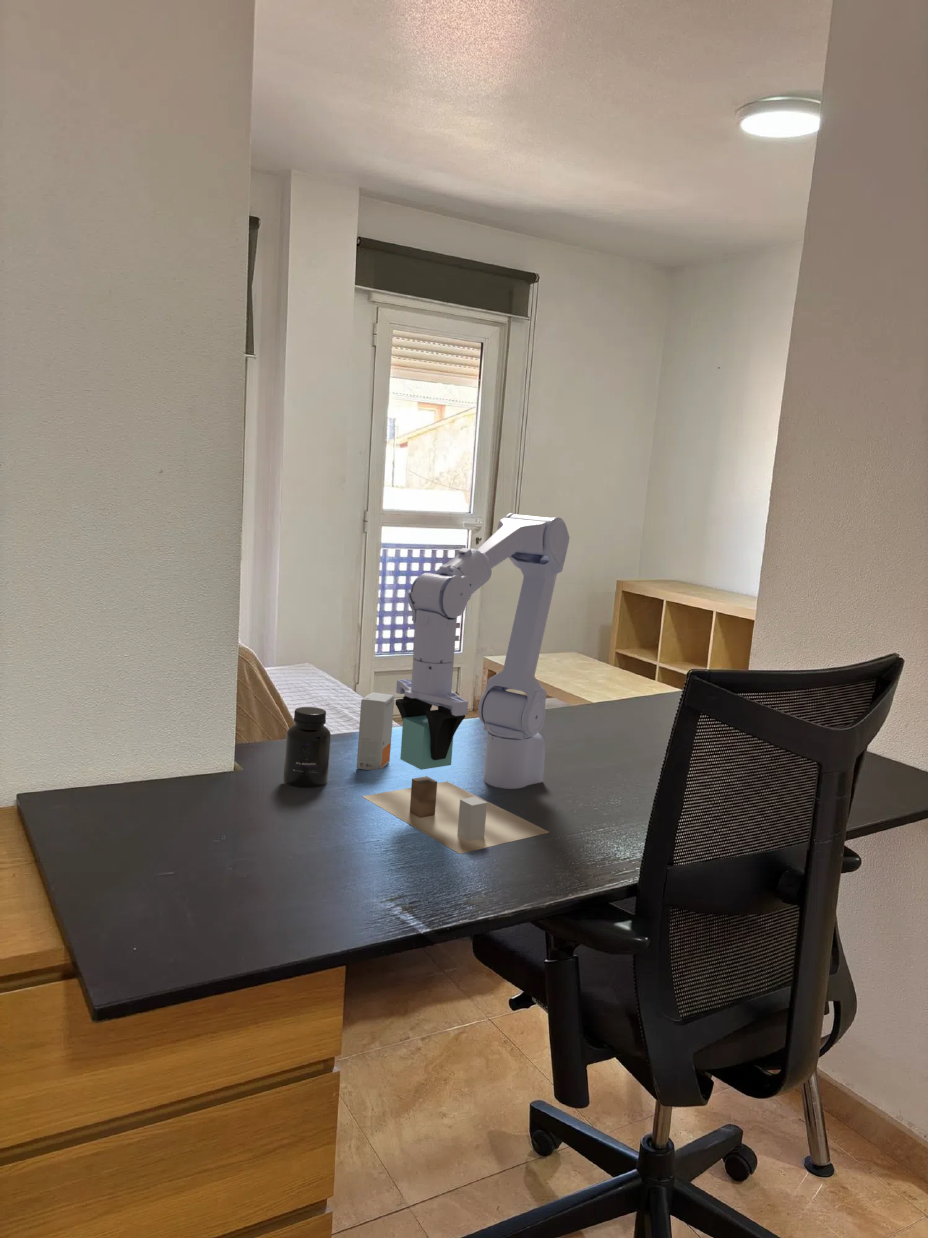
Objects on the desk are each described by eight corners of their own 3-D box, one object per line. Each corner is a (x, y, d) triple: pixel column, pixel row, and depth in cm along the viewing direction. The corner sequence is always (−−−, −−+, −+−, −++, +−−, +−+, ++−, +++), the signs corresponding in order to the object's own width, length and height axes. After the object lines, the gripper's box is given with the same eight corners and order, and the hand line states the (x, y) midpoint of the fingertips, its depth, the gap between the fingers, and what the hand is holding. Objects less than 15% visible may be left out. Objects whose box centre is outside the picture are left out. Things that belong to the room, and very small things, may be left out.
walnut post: (424, 809, 132) (426, 776, 132) (434, 815, 130) (437, 781, 130) (409, 812, 131) (412, 778, 130) (420, 818, 129) (422, 784, 128)
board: (446, 786, 146) (447, 781, 146) (549, 837, 127) (549, 832, 127) (361, 801, 136) (361, 796, 136) (459, 859, 117) (459, 853, 117)
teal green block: (429, 755, 133) (432, 714, 132) (451, 765, 129) (454, 723, 128) (400, 759, 130) (403, 717, 129) (421, 769, 126) (424, 727, 125)
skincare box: (380, 772, 150) (385, 702, 149) (355, 769, 151) (360, 699, 149) (390, 762, 156) (395, 694, 155) (367, 759, 157) (371, 691, 155)
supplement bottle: (297, 795, 137) (301, 718, 135) (275, 782, 142) (278, 707, 140) (336, 788, 141) (340, 713, 139) (312, 775, 146) (316, 703, 144)
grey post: (472, 831, 125) (475, 796, 125) (484, 837, 123) (487, 802, 123) (457, 834, 124) (460, 799, 123) (469, 841, 122) (472, 805, 121)
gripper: (381, 651, 131) (375, 742, 133) (441, 671, 119) (433, 771, 121) (421, 649, 135) (415, 737, 137) (482, 668, 124) (475, 764, 126)
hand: (426, 753), depth 129 cm, fingers closed on teal green block, 5 cm apart
